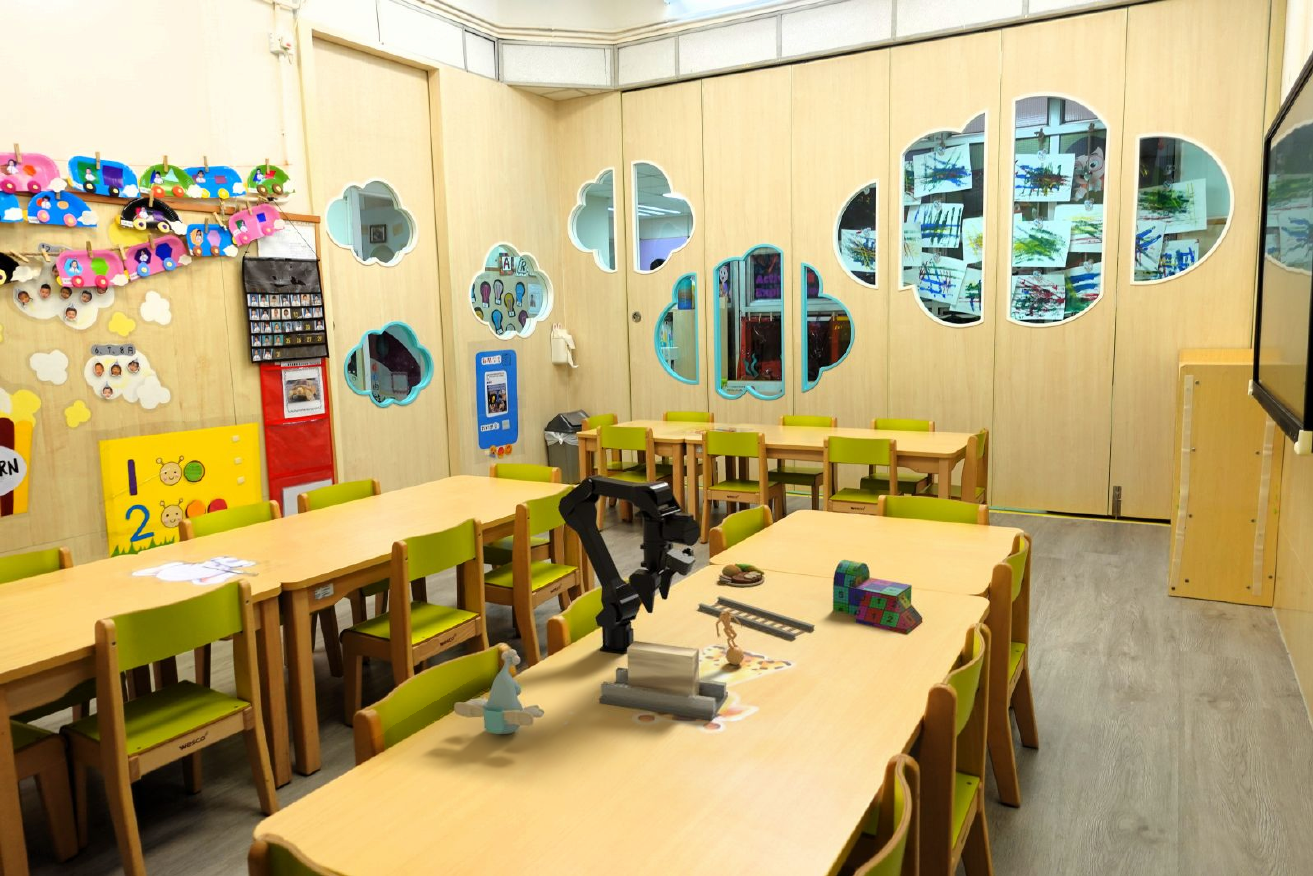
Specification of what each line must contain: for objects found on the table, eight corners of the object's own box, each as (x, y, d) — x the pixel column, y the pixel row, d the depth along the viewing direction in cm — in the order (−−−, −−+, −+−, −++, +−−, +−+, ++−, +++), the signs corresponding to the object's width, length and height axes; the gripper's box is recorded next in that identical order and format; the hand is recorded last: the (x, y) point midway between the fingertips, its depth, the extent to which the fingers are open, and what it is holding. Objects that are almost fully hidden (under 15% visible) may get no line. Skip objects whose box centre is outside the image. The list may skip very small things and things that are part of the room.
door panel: (693, 704, 172) (692, 656, 171) (628, 694, 177) (627, 648, 176) (699, 695, 176) (698, 649, 175) (635, 686, 181) (634, 640, 180)
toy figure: (557, 724, 167) (554, 651, 165) (532, 751, 158) (529, 673, 155) (482, 713, 173) (478, 642, 170) (453, 738, 163) (448, 662, 161)
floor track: (599, 702, 176) (598, 686, 176) (620, 680, 186) (620, 665, 186) (711, 720, 167) (711, 703, 167) (727, 696, 178) (727, 680, 177)
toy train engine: (824, 616, 222) (824, 569, 220) (849, 600, 234) (850, 555, 232) (907, 634, 209) (908, 585, 207) (929, 616, 221) (930, 569, 219)
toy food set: (741, 596, 241) (741, 582, 240) (701, 586, 249) (701, 573, 249) (779, 577, 256) (779, 564, 255) (740, 569, 265) (740, 556, 264)
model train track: (789, 644, 206) (789, 636, 205) (694, 612, 228) (694, 605, 228) (817, 631, 213) (817, 623, 213) (723, 601, 236) (723, 594, 236)
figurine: (730, 672, 189) (729, 620, 187) (709, 665, 193) (708, 613, 192) (753, 660, 195) (753, 609, 193) (732, 653, 199) (732, 603, 197)
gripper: (675, 553, 180) (677, 624, 183) (703, 530, 198) (704, 596, 200) (626, 548, 184) (628, 618, 187) (657, 527, 202) (659, 591, 204)
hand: (657, 606), depth 194 cm, fingers open, 9 cm apart
